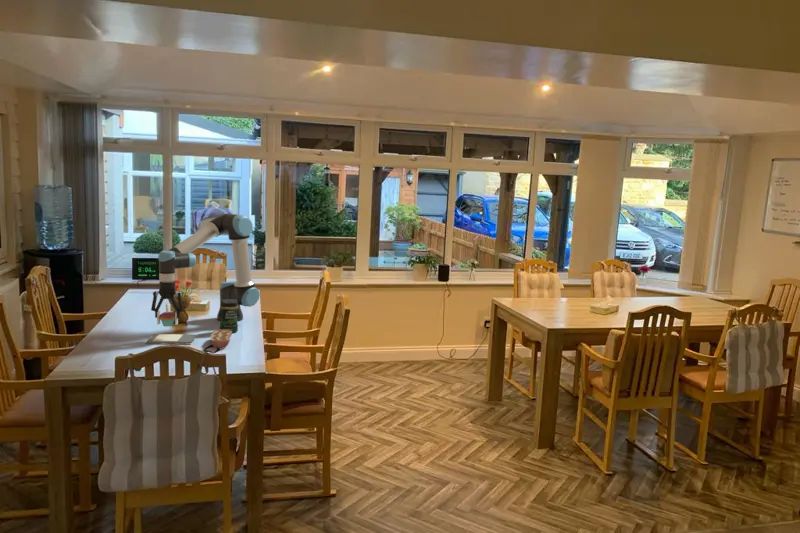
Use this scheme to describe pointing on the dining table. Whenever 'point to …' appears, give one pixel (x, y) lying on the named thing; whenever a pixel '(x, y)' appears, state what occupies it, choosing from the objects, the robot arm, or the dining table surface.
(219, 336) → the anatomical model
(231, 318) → the coffee jar
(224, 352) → the dining table surface
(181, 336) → the board
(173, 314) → the cupcake
